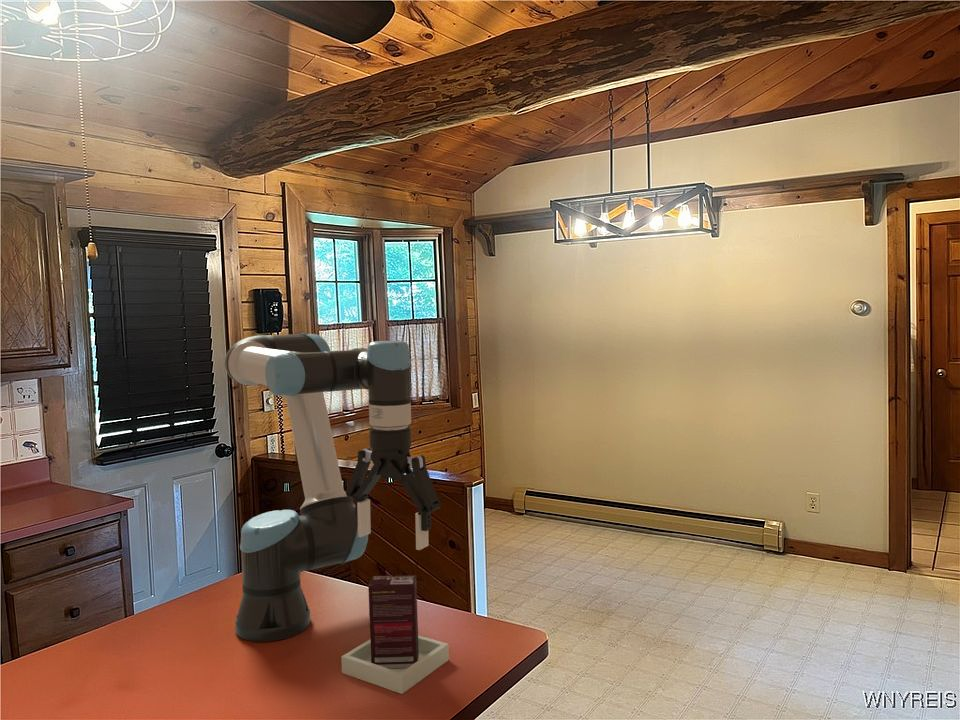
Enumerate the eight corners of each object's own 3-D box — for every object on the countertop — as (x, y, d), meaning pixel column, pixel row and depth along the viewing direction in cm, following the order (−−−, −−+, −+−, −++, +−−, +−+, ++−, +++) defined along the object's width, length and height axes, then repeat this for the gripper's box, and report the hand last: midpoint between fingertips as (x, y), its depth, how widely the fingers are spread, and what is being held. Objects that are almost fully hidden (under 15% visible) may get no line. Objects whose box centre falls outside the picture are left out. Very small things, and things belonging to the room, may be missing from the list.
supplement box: (419, 655, 137) (417, 574, 136) (417, 668, 132) (415, 583, 131) (373, 656, 137) (371, 574, 135) (369, 669, 132) (367, 584, 131)
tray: (341, 672, 132) (341, 656, 132) (391, 642, 144) (390, 626, 144) (402, 694, 125) (401, 676, 124) (448, 659, 136) (448, 643, 136)
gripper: (325, 423, 134) (328, 535, 136) (433, 436, 121) (435, 559, 123) (352, 418, 141) (355, 524, 142) (459, 429, 127) (460, 547, 129)
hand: (392, 541), depth 132 cm, fingers open, 13 cm apart
